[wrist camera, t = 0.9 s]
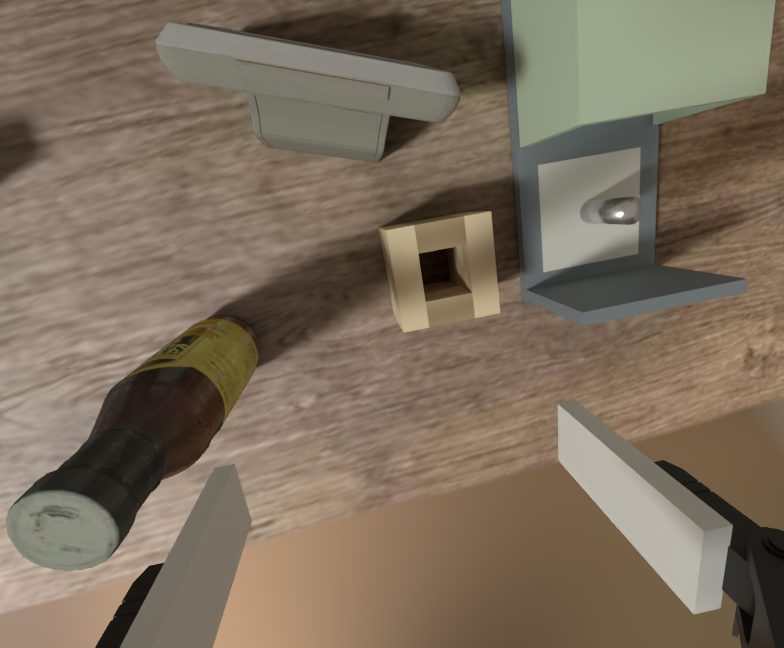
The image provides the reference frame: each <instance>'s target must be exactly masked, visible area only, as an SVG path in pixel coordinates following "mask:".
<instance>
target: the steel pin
mask: <svg viewBox="0 0 784 648" xmlns="http://www.w3.org/2000/svg"><path fill="white" fill-rule="evenodd" d="M644 210H645V207H644V203H643V201H642V200H641V199H640V198H638V197H621V198H606V199H592V200H588V201H586V202H585V203H584V204H583V205H582V207H581V209H580V217H581V219H582V221H583V222H585V223H588V224H621V225H632V224H635V223H637V222H638V221H639V220H640V219H641V218H642V216H643V214H644Z"/></svg>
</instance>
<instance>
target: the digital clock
mask: <svg viewBox="0 0 784 648" xmlns="http://www.w3.org/2000/svg"><path fill="white" fill-rule="evenodd" d="M155 43H156V49H157V52H158V55H159V57H160V59H161V61H162V62H163V64H164V65H165V66H166V68H167V69H168V70H169V71H170V72H171V73H172V74H173V75H174V76H175V78H177V79H178V80H180V81H182V82H187V83H192V84H198V85H204V86H210V87H217V88H223V89H229V90H235V91H241V92H246V94H247V98H248V102H249V106H250V110H251V115H252V123H253V131H254V134H255V136H256V138H257V139H258V140H260V141H261V142H262V143H263V144H264V145H265V146H266V147H271V148H278V149H285V150H292V151H299V152H307V153H314V154H321V155H328V156H335V157H342V158H349V159H356V160H363V161H370V162H378V161H379V160H380V158H381V157H382V155H383V152H384V147H385V140H386V134H387V129H388V123H389V119H390V115H391V116H397V117H404V118H410V119H416V120H423V121H429V122H437V123H440V122H443V121H444V120H445V119H447V118H448V117H449V116H450V115H451V114H452V113H453V112H454V110H455V109H456V107H457V105H458V103H459V100H460V95H461V93H460V91H459V88H458V85H457V83H456V80H455V78H454V76H453V74H452V73H450V72H447V71H443V70H439V69H437V68H434V67H430V66H426V65H422V64H418V63H413V62H407V61H402V60H396V59H391V58H386V57H380V56H375V55H369V54H364V53H358V52H353V51H347V50H342V49H336V48H331V47H325V46H320V45H314V44H309V43H303V42H298V41H293V40H287V39H282V38H276V37H271V36H265V35H260V34H254V33H249V32H243V31H238V30H232V29H226V28H220V27H212V26H207V25H200V24H192V23H188V24H183V23H176V22H168V23H167V25H166V26H165V27H164V29H163V30H162V31H161V33H160V35H159V36H158V38H157V39H156V41H155Z"/></svg>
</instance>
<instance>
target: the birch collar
mask: <svg viewBox="0 0 784 648" xmlns="http://www.w3.org/2000/svg"><path fill="white" fill-rule="evenodd" d="M379 233H380V238H381V244H382V250H383V255H384V261H385V267H386V272H387V278H388V284H389V290H390V295H391V301H392V307H393V312H394V315H395V317H396V319H397V321H398V323H399V325H400V327H401V329H402V331H403V332H409V331H414V330H419V329H424V328H429V327H434V326H439V325H444V324H448V323H453V322H458V321H463V320H468V319H473V318H478V317H483V316H488V315H493V314H498V313H500V305H499V294H498V282H497V271H496V260H495V249H494V237H493V226H492V215H491V211H481V212H463V213H457V214H452V215H446V216H441V217H435V218H430V219H424V220H419V221H413V222H408V223H402V224H397V225H391V226H386V227H380V228H379ZM446 248H447V254H448V262H449V270H450V278H451V280H448V281H442V282H437V283H432V284H427V285H423V281H422V275H421V268H420V261H419V254H420V253H425V252H430V251H436V250H441V249H446Z"/></svg>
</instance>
